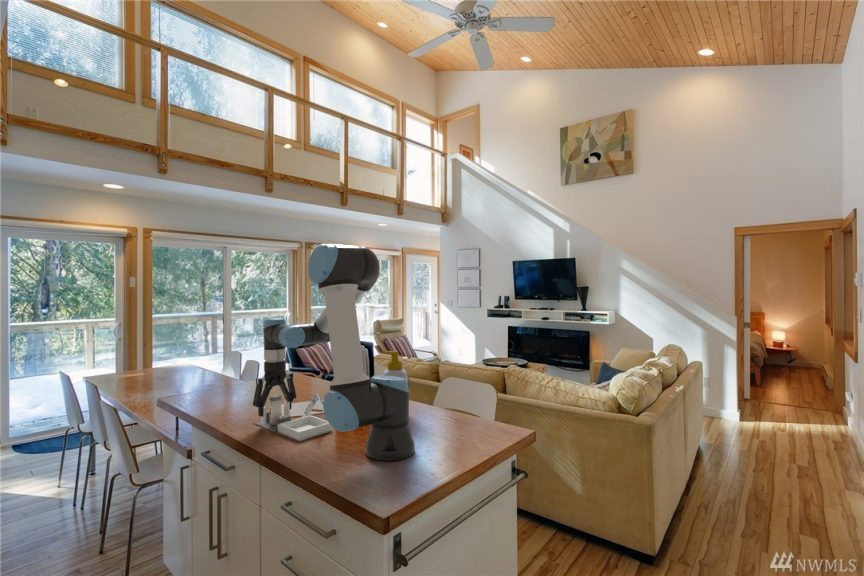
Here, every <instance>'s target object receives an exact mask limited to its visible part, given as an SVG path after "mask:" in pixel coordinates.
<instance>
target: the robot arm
mask: <svg viewBox="0 0 864 576" xmlns="http://www.w3.org/2000/svg"><path fill="white" fill-rule="evenodd" d="M380 266H381V265H380V261H379V259H378V256H377V254H375V252H374V251H373V250H371V249H370V248H369V247H365V246H364V245H363V246H362V245H350V244H349V245H348V244H338V243H334V242H333V243H321V244H319V245H317V246H316V247H315V248H314V249H313V250H312V252H311V255H309V259H308V265H307V273H308V277H309V279H310V281H311V282H312V283H314V284H317V287H318V292H319V293H320V294H321V295H323V296H324V301H325V308H324V309H323V311H322V312H321V313H320V315H318V316H319V317H318V318H317V319H316V320H315V322H312V323H304V324H302V323H300V324H287V323H286V320H285V318H283V317H275V318H274V317H271V318H266V319H265V320H264V321H263V360H264V362H263V372H264V375H263V377H256V378H255V383H256V385H255V390H254V395H253V396H254V397H253V400H252V406H253V407H256V408H257V409H258V411H257V412H258V416H259V417H260V421H261V425H263V426H266V411H267V407H266V406H265V405H266V403H267V400H268V399H269V395H270V393H271V391H272V389H273V388H274V387H277V386H278V387H279V388H280V390H281V393H282V394H283V396H284V399H285V400H284V401H283V416H286V415H287V416H290V417H291V410H292V405H293V404H292V402H294V399H297V393H296V388H295V383H294V373H293V372H286V370H287V365H286V364H287V363H286V360H285V359H287V354H286V353H287V352H286V350H287V349H286V348H289V349H291V348H293V349H294V348H298V347H300V346H307V345H316V344H327V343H329V344H330V352H331V353H330V354H331V362H332V370H333V379H332V380H331V381H330V383H329V391H327V393H326V394H325V395H324V397H323V401H322V402H323V403H322V407H323V408H322V409H323V413H324V415H325V418H326V421H328V422H329V423H330V424H331V426H332V429H334V430H336V431H337V432H340V433H341V432H345V433H346V432H348V431H355V430H357V429H360V428H363V427H366V426H370V430H369V434H368V439H367V441H366V444H365V454H366V456H367V457H369V458H370V459H373V460H378V461H398V460H399V461H400V460H402V459H406V458H409V457H410V456H413V454H414V453H415V450H416V449H415V448H416V445H415V440H414V439H413V435H412V431H411V428H410V421H409V420H410V419H409V417H410V416H409V415H410V414H409V413H410V412H409V410H410V406H409V405H410V404H409V402H410V390H409V383H408V380H407V378H406V379H404V378H401V377H395V376H383V375H372V377H370V376H368V375H367V374H366V373H365V371H364V364H363V363H364V361H363V356H362V355H363V354H362V348H361V347H362V346H361V345H362V344H361V338H360V332H359V324H358V313H357V307H356V306H357V305H356V304H357V302H358V301H359V300H360V299H361V297H362V296H363V295H364V293H367V292H369V291H370V290H372V288H373V287H374V286H375V284H376V283H377V282H378V279H379V277H380V271H381V267H380ZM285 379H286V382H287V384H286V382H285ZM263 386H264V387H263Z"/></svg>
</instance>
